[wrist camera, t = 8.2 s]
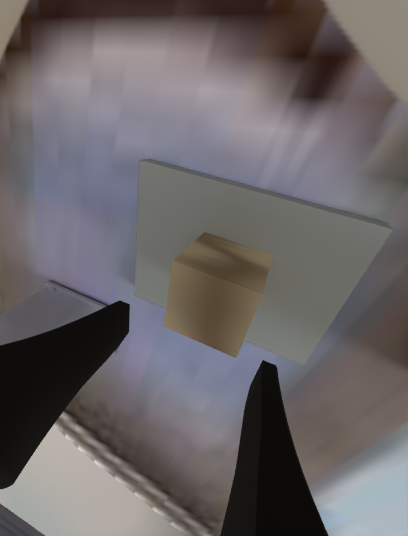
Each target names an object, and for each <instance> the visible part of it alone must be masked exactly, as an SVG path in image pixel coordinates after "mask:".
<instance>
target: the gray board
mask: <svg viewBox="0 0 408 536" xmlns="http://www.w3.org/2000/svg"><path fill="white" fill-rule="evenodd" d="M393 230H394V229H393V228H391V227H390V226H389V225H388V224H387V223H384V222H381V221H377V220H373V219H369V218H366V217H362V216H358V215H355V214H351V213H347V212H343V211H340V210H336V209H332V208H329V207H325V206H321V205H318V204H314V203H310V202H306V201H303V200H299V199H295V198H292V197H288V196H284V195H280V194H277V193H273V192H269V191H266V190H262V189H258V188H255V187H251V186H247V185H243V184H240V183H236V182H232V181H229V180H225V179H221V178H218V177H214V176H210V175H206V174H203V173H199V172H195V171H192V170H188V169H184V168H180V167H177V166H173V165H169V164H166V163H162V162H158V161H155V160H151V159H144V160H140V163H139V188H138V214H137V239H136V265H135V290H134V296H136V297H139V298H141V299H144V300H146V301H149V302H151V303H153V304H156V305H158V306H161V307H163V308H166V304H167V297H168V290H169V283H170V276H171V270H172V263H173V260H174V259H175V258H176V257H177V256H179V255H180V254H181V253H182V252H183V251H184V250H185V249H186V248H187V247H188V246H190V245H191V244H192V243H193V242H194V241H195V240H196V239H197V238H198V237H199V236H200V235H202V234H203V233H204V232H206V233H209V234H212V235H215V236H218V237H221V238H224V239H227V240H230V241H233V242H236V243H239V244H242V245H245V246H248V247H251V248H254V249H257V250H260V251H263V252H266V253H269V254H272V255H273V256H272V260H271V264H270V268H269V272H268V276H267V280H266V284H265V288H264V292H263V295H262V298H261V300H260V302H259V305H258V307H257V309H256V312H255V314H254V317H253V319H252V321H251V324H250V326H249V329H248V331H247V333H246V336H245V338H244V341H246V342H248V343H250V344H253V345H255V346H258V347H260V348H263V349H265V350H267V351H270V352H272V353H275V354H277V355H280V356H282V357H284V358H287V359H289V360H292V361H294V362H297V363H299V364H301V365H305V364H306V362H307V361H308V359H309V358H310V356H311V354H312V353H313V351H314V350H315V348H316V347H317V345H318V344H319V342H320V341H321V339H322V338H323V336H324V335H325V333H326V332H327V330H328V329H329V327H330V326H331V324H332V322H333V321H334V319H335V318H336V316H337V315H338V313H339V312H340V310H341V309H342V307H343V306H344V304H345V303H346V301H347V300H348V298H349V297H350V295H351V294H352V292H353V290H354V289H355V287H356V286H357V284H358V283H359V281H360V280H361V278H362V277H363V275H364V274H365V272H366V271H367V269H368V268H369V266H370V265H371V263H372V262H373V260H374V258H375V257H376V255H377V254H378V252H379V251H380V249H381V248H382V246H383V245H384V243H385V242H386V240H387V239H388V237H389V236H390V234H391V233H392V231H393Z"/></svg>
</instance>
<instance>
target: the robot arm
mask: <svg viewBox="0 0 408 536" xmlns="http://www.w3.org/2000/svg"><path fill="white" fill-rule="evenodd" d="M45 286H46V289H45V290H43V291H41V292H39V293H38V294H36V295H34V296H32V297H31V298H29V299H27V300H25V301H24V302H22V303H20V304H18V305H17V306H15V307H13V308H11V309H10V310H8V311H6V312H4V313H3V314H1V315H0V489H4V488H7V487H9V486H11V485H12V484H14V482H15V481H16V479H17V477H18V476H19V474H20V473H21V471H22V470H23V468H24V467H25V465H26V464H27V462H28V461H29V459H30V458H31V456H32V455H33V453H34V452H35V450H36V449H37V447H38V446H39V444H40V442H41V441H42V440H43V438H44V437H45V436H46V434H47V433H48V431H49V430H50V429H51V427H52V426H53V424H54V423H55V422H56V420H57V419H58V418H59V416H60V415H61V414H62V412H63V411H64V409H65V408H66V407H67V405H68V404H69V403H70V402H71V400H72V399H73V398H74V396H75V395H76V394H77V392H78V391H79V390H80V389H81V388H82V386H83V385H84V384H85V383H86V382H87V381H88V380H89V379H90V377H91V376H92V375H93V374H94V373H95V372H96V371H97V370H98V369H99V368H100V367H101V366H102V364H103V363H104V362H105V361H106V360H107V359H108V358H109V357H110V356H111V357H113V356H114V355H115V354H116V352H115V350H116V349H117V348H118V347H119V345H120V344H121V342H122V341H123V340H124V338H125V337H126V335H127V334H128V332H129V310H130V304H127V303H125V302H122V301H118V302H115V303H113V304H111V305H109V306H106V305H104V304H101V303H99V302H97V301H94V300H92V299H90V298H87V297H85V296H83V295H81V294H78V293H76V292H74V291H71V290H69V289H67V288H65V287H62V286H60V285H58V284H55V283H53V282H51V281H48V282H46V283H45ZM0 536H45V535H43V534H42V533H40V532H39V531H38V530H36V529H35V528H34V527H32V526H31V525H29V524H28V523H27V522H25V521H24V520H22V519H21V518H20V517H18V516H17V515H15V514H14V513H13V512H11V511H10V510H8V509H7V508H5V507H4V506H3V505H1V504H0ZM220 536H328V534H327V531H326V529H325V527H324V524H323V522H322V519H321V517H320V515H319V512H318V510H317V508H316V505H315V503H314V500H313V498H312V495H311V493H310V490H309V487H308V485H307V482H306V479H305V477H304V474H303V471H302V468H301V465H300V462H299V459H298V456H297V453H296V450H295V447H294V443H293V440H292V437H291V433H290V430H289V426H288V422H287V418H286V414H285V410H284V405H283V401H282V396H281V391H280V385H279V379H278V371H277V367H276V365H273V364H271V363H268V362H266V361H264V360H263V361H262V363H261V365H260V367H259V369H258V371H257V373H256V375H255V377H254V379H253V381H252V383H251V385H250V389H249V393H248V397H247V401H246V405H245V410H244V416H243V423H242V430H241V437H240V444H239V451H238V458H237V464H236V470H235V475H234V480H233V484H232V488H231V493H230V497H229V502H228V506H227V510H226V514H225V519H224V523H223V527H222V531H221V535H220Z"/></svg>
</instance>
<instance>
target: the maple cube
mask: <svg viewBox="0 0 408 536" xmlns="http://www.w3.org/2000/svg"><path fill="white" fill-rule="evenodd" d="M272 256H273V255H272V254H269V253H266V252H263V251H260V250H257V249H254V248H251V247H248V246H245V245H242V244H239V243H236V242H233V241H230V240H227V239H224V238H221V237H218V236H215V235H212V234H209V233H206V232H204V233H203V234H202V235H200V236H199V237H198V238H197V239H196V240H195V241H194V242H193V243H192V244H191V245H190V246H188V247H187V248H186V249H185V250H184V251H183V252H182V253H181V254H180V255H179V256H177V257H176V258H175V259H174V260H173V263H172V270H171V276H170V283H169V290H168V297H167V304H166V311H165V318H164V324H163V326H164V327H166V328H169V329H171V330H173V331H176V332H178V333H180V334H182V335H185V336H187V337H189V338H192V339H194V340H196V341H198V342H201V343H203V344H205V345H208V346H210V347H212V348H214V349H217V350H219V351H221V352H223V353H226V354H228V355H230V356H233V357H235V358H236V357H237V355H238V353H239V350H240V348H241V345H242V343H243V341H244V338H245V336H246V333H247V331H248V329H249V326H250V324H251V321H252V319H253V317H254V314H255V312H256V309H257V307H258V305H259V302H260V300H261V298H262V295H263V292H264V288H265V284H266V280H267V276H268V272H269V268H270V264H271V260H272Z"/></svg>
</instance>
